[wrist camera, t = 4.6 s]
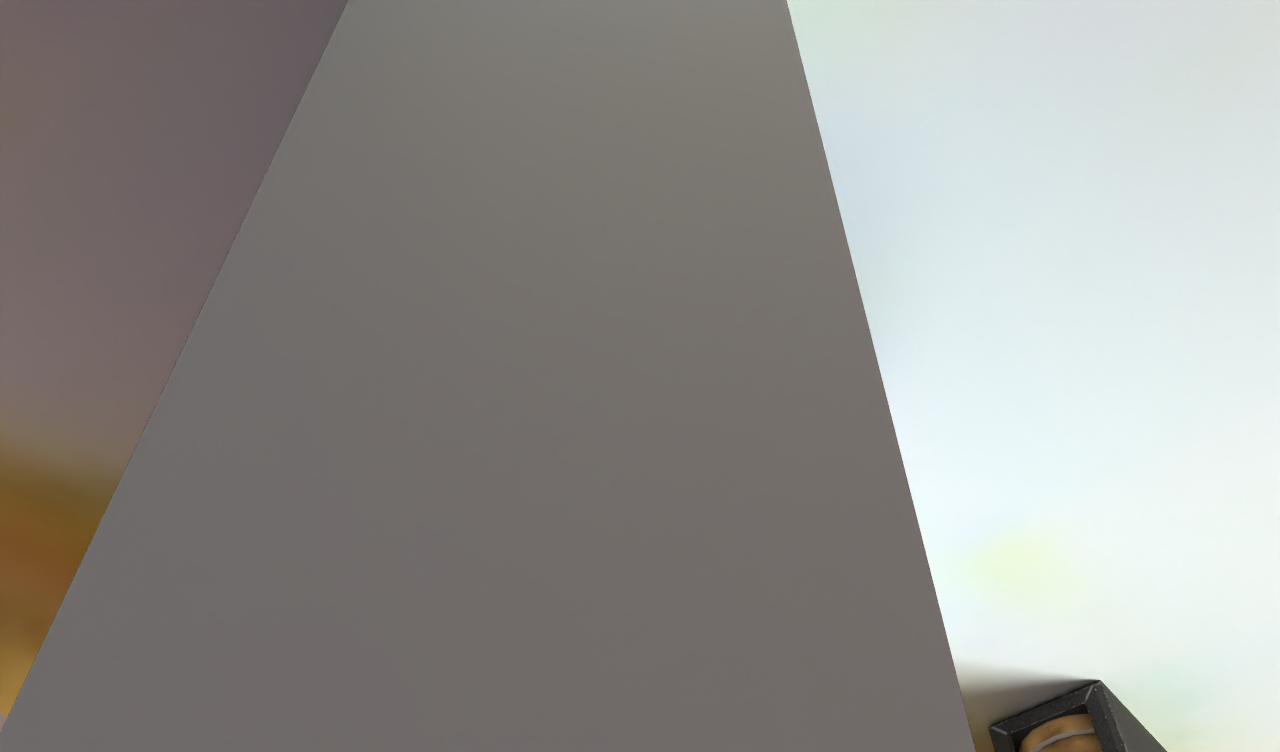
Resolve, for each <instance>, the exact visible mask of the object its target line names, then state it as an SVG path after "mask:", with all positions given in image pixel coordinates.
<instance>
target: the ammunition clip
mask: <svg viewBox="0 0 1280 752" xmlns="http://www.w3.org/2000/svg"><path fill="white" fill-rule="evenodd" d="M988 728H989V732H990V736H991V739H992V743H993V746H994V750H995V752H1167V751H1166V750H1165V749H1164V748H1163V747H1162V746H1161V745H1160V744H1159V742H1158V741H1157V740H1156V739H1155V738H1154V737H1153V736H1152V735H1151V734H1150V733H1149V732H1148V731H1147V730H1146V729H1145V727H1144V726H1143V725H1142V724H1141V723H1140V722H1139V721H1138V720H1137V719H1136V718H1135V717H1134V716H1133V715H1132V713H1131V712H1130V711H1129V710H1128V709H1127V708H1126V707H1125V706H1124V705H1123V704H1122V703H1121V702H1120V701H1119V700H1118V698H1117V697H1116V696H1115V695H1114V694H1113V693H1112V692H1111V691H1110V690H1109V689H1108V688H1107V687H1106V686H1105V684H1104V683H1103V682H1102V681H1101V680H1100V681H1097V682H1095V683H1092V684H1090V685H1088V686H1085V687H1083V688H1081V689H1078V690H1076V691H1073V692H1071V693H1069V694H1066V695H1064V696H1062V697H1059V698H1057V699H1054V700H1052V701H1050V702H1047V703H1045V704H1042V705H1040V706H1038V707H1035V708H1033V709H1031V710H1028V711H1026V712H1023V713H1021V714H1019V715H1016V716H1014V717H1012V718H1009V719H1007V720H1004V721H1002V722H1000V723H997V724H995V725H992V726H990V727H988Z"/></svg>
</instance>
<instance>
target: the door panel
mask: <svg viewBox="0 0 1280 752" xmlns="http://www.w3.org/2000/svg"><path fill="white" fill-rule="evenodd" d="M0 752H976V751H975V747H974V743H973V739H972V735H971V731H970V727H969V723H968V719H967V715H966V711H965V707H964V703H963V699H962V695H961V691H960V687H959V683H958V679H957V675H956V671H955V667H954V663H953V659H952V655H951V651H950V647H949V643H948V639H947V635H946V632H945V628H944V624H943V620H942V616H941V612H940V608H939V604H938V600H937V596H936V592H935V588H934V584H933V580H932V576H931V572H930V568H929V564H928V560H927V556H926V552H925V548H924V544H923V540H922V536H921V532H920V528H919V524H918V520H917V516H916V512H915V509H914V505H913V501H912V497H911V493H910V489H909V485H908V481H907V477H906V473H905V469H904V465H903V461H902V457H901V453H900V449H899V445H898V441H897V437H896V433H895V429H894V425H893V421H892V417H891V413H890V409H889V405H888V401H887V397H886V393H885V389H884V386H883V382H882V378H881V374H880V370H879V366H878V362H877V358H876V354H875V350H874V346H873V342H872V338H871V334H870V330H869V326H868V322H867V318H866V314H865V310H864V306H863V302H862V298H861V294H860V290H859V286H858V282H857V278H856V274H855V270H854V266H853V263H852V259H851V255H850V251H849V247H848V243H847V239H846V235H845V231H844V227H843V223H842V219H841V215H840V211H839V207H838V203H837V199H836V195H835V191H834V187H833V183H832V179H831V175H830V171H829V167H828V163H827V159H826V155H825V151H824V147H823V144H822V140H821V136H820V132H819V128H818V124H817V120H816V116H815V112H814V108H813V104H812V100H811V96H810V92H809V88H808V84H807V80H806V76H805V72H804V68H803V64H802V60H801V56H800V52H799V48H798V44H797V40H796V36H795V32H794V28H793V24H792V21H791V17H790V13H789V9H788V5H787V1H786V0H348V1H347V4H346V6H345V8H344V10H343V12H342V14H341V16H340V18H339V20H338V23H337V25H336V27H335V29H334V31H333V33H332V35H331V37H330V39H329V41H328V44H327V46H326V48H325V50H324V52H323V54H322V56H321V58H320V60H319V63H318V65H317V67H316V69H315V71H314V73H313V75H312V77H311V79H310V81H309V84H308V86H307V88H306V90H305V92H304V94H303V96H302V98H301V100H300V103H299V105H298V107H297V109H296V111H295V113H294V115H293V117H292V119H291V121H290V124H289V126H288V128H287V130H286V132H285V134H284V136H283V138H282V140H281V143H280V145H279V147H278V149H277V151H276V153H275V155H274V157H273V159H272V161H271V164H270V166H269V168H268V170H267V172H266V174H265V176H264V178H263V180H262V183H261V185H260V187H259V189H258V191H257V193H256V195H255V197H254V199H253V201H252V204H251V206H250V208H249V210H248V212H247V214H246V216H245V218H244V220H243V223H242V225H241V227H240V229H239V231H238V233H237V235H236V237H235V239H234V241H233V244H232V246H231V248H230V250H229V252H228V254H227V256H226V258H225V260H224V263H223V265H222V267H221V269H220V271H219V273H218V275H217V277H216V279H215V281H214V284H213V286H212V288H211V290H210V292H209V294H208V296H207V298H206V300H205V303H204V305H203V307H202V309H201V311H200V313H199V315H198V317H197V319H196V321H195V324H194V326H193V328H192V330H191V332H190V334H189V336H188V338H187V340H186V343H185V345H184V347H183V349H182V351H181V353H180V355H179V357H178V359H177V361H176V364H175V366H174V368H173V370H172V372H171V374H170V376H169V378H168V380H167V383H166V385H165V387H164V389H163V391H162V393H161V395H160V397H159V399H158V401H157V404H156V406H155V408H154V410H153V412H152V414H151V416H150V418H149V420H148V422H147V425H146V427H145V429H144V431H143V433H142V435H141V437H140V439H139V441H138V444H137V446H136V448H135V450H134V452H133V454H132V456H131V458H130V460H129V462H128V465H127V467H126V469H125V471H124V473H123V475H122V477H121V479H120V481H119V484H118V486H117V488H116V490H115V492H114V494H113V496H112V498H111V500H110V502H109V505H108V507H107V509H106V511H105V513H104V515H103V517H102V519H101V521H100V524H99V526H98V528H97V530H96V532H95V534H94V536H93V538H92V540H91V542H90V545H89V547H88V549H87V551H86V553H85V555H84V557H83V559H82V561H81V564H80V566H79V568H78V570H77V572H76V574H75V576H74V578H73V580H72V582H71V585H70V587H69V589H68V591H67V593H66V595H65V597H64V599H63V601H62V604H61V606H60V608H59V610H58V612H57V614H56V616H55V618H54V620H53V622H52V625H51V627H50V629H49V631H48V633H47V635H46V637H45V639H44V641H43V644H42V646H41V648H40V650H39V652H38V654H37V656H36V658H35V660H34V662H33V665H32V667H31V669H30V671H29V673H28V675H27V677H26V679H25V681H24V684H23V686H22V688H21V690H20V692H19V694H18V696H17V698H16V700H15V702H14V705H13V707H12V709H11V711H10V713H9V715H8V717H7V719H6V721H5V724H4V726H3V728H2V730H1V732H0Z"/></svg>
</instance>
